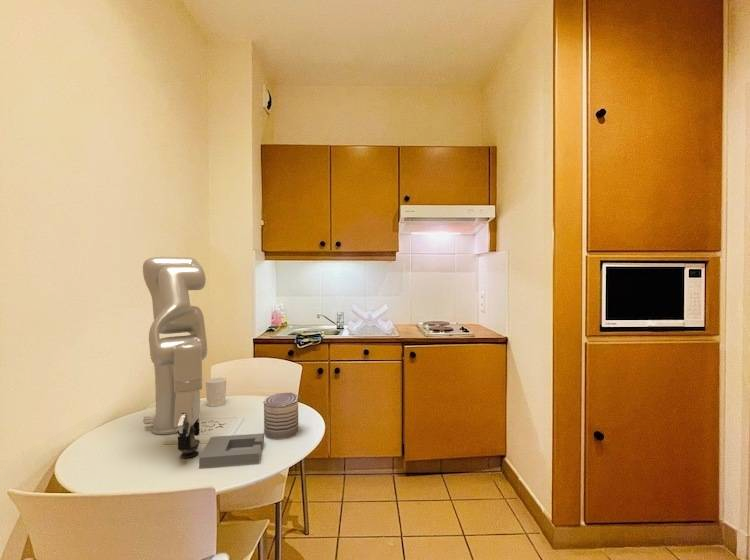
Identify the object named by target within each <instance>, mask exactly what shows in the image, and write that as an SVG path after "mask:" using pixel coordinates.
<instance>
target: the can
mask: <svg viewBox="0 0 750 560" xmlns="http://www.w3.org/2000/svg"><path fill="white" fill-rule="evenodd" d="M299 396H300V395H298V394H295V393H293V392H278V393H274V394H272V395H268V396H266V397H265V398H264V401H263V402H262V403H263V424H264V425H263V433H264V437H266V439H270V440H275V441H277V440H278V441H279V440H281V441H282V440H288V439H290V438H292V437H295V436H297V434H298V432H299Z"/></svg>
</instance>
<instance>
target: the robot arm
mask: <svg viewBox="0 0 750 560" xmlns="http://www.w3.org/2000/svg"><path fill="white" fill-rule="evenodd" d="M205 274H206V273H205V269H204V268H203V267H202V265H201V264H200V262H199V261H198V260H197V259H196V258H195V257H194V258H193V257H186V256H183V257H179V256H154V257H150V258H147V259H146V260H144V262H143V264H142V275H143V279H144V283H145V285H146V287H147V289H148V291H149V294H150V296H151V301H152V303H151V304H152V312H153V313H152V314H153V322H151V323H152V324H151V325H150V327H149V330H148V345H149V355H150V356H149V357H150V360H151V362H152V364H153V367H154V378H155V379H154V382H155V383H154V384H155V414H154V415H152V416H144V417H143V419H142V422H143V424H144V425H150V426H151V427H150V432H151V433H152V434H154V435H155V434H156V435H171V434H175V433H176V434H177V449H178V451H180V450H188V449H190V447H191V444H190V435H189V432H190V427H191V426H192V425H193V424H194V429H196V430H195V431H194V433H195V436H196V437H197V436H199V435H200V416H201V397H200V395H201V394H200V393H201V392H200V391H201V390H202V389H203V365H202V364H203V360H204V359H206V357H207V355H208V342H207V341H208V340H207V333H206V325H205V324H206V323H205V320H204V319H205V318H204V313H203V311H202V309H201V308H200V307H199V306H195V305H192V304H191V300H190V293H189V291H200V290H203V289H204V288H205V285H206V283H207V281H206V275H205ZM183 333H189V334H188V335H176V336H175V335H174V334H183ZM160 334H161V335H174V336H166V337H162V338H160ZM184 428H187V431H186V429H184Z"/></svg>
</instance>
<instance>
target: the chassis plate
mask: <svg viewBox="0 0 750 560" xmlns="http://www.w3.org/2000/svg"><path fill="white" fill-rule="evenodd" d="M264 445H265V435H264V432H263V433H249V434H235V435H219V436H210V438H209V440H208V441H207V443H206V445H205V446H204V448H203V450H202V452H201V454H200V455H199V457H198V464H199V466H198V467H199V469H207V468H208V469H209V468H223V467H224V468H225V467H234V466H247V465H249V466H250V465H259V464H260V461H261V457H262V453H263V449H264Z"/></svg>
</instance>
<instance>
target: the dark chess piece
mask: <svg viewBox="0 0 750 560" xmlns="http://www.w3.org/2000/svg"><path fill="white" fill-rule="evenodd" d="M184 429H186V431H187V428H184ZM195 430H196V429H194V424H193V425H192V426H191V427H190V432H189V435H190V444H191V447H190V449H188V450H179V451H180V452H181V454H180V455H179V459H180V460H190V459H191V460H192V459H194V458H196V457H198V456H200V455H199V454H200V452H199V451H197V450H198V448H199V446H200V444H201V441H200V440H199V439H198V438H195V433H194V431H195Z"/></svg>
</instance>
